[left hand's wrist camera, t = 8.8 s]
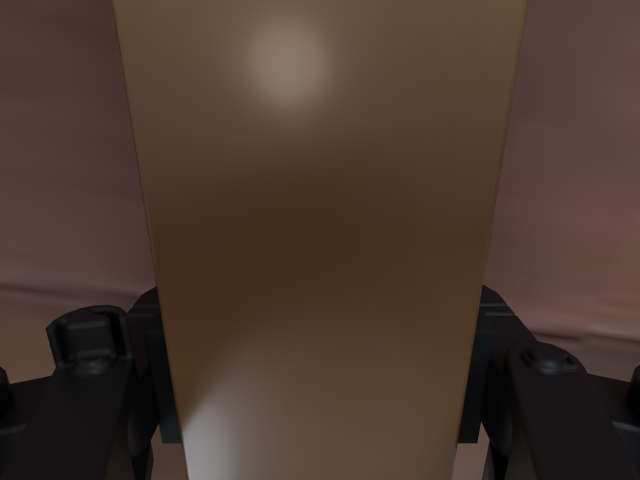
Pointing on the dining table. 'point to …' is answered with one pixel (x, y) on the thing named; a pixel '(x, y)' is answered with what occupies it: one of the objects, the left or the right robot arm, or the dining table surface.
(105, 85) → the dining table surface
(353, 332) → the beam
